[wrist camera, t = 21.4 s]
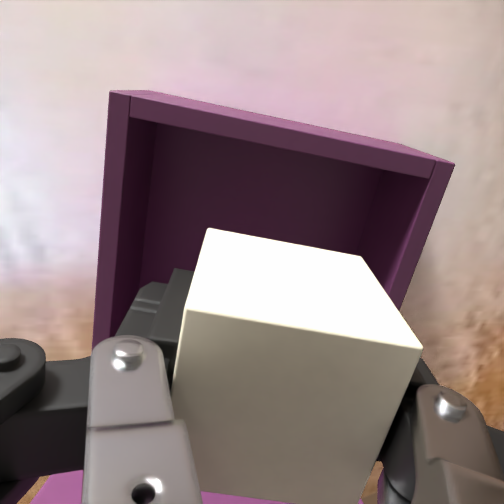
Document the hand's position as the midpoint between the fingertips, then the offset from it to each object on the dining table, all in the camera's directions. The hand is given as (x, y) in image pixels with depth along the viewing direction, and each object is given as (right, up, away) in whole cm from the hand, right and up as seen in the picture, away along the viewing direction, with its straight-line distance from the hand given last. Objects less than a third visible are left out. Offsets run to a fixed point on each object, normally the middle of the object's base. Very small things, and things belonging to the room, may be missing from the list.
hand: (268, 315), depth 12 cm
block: (0, 0, 0) cm, 0 cm away
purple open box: (-1, +1, +13) cm, 13 cm away
